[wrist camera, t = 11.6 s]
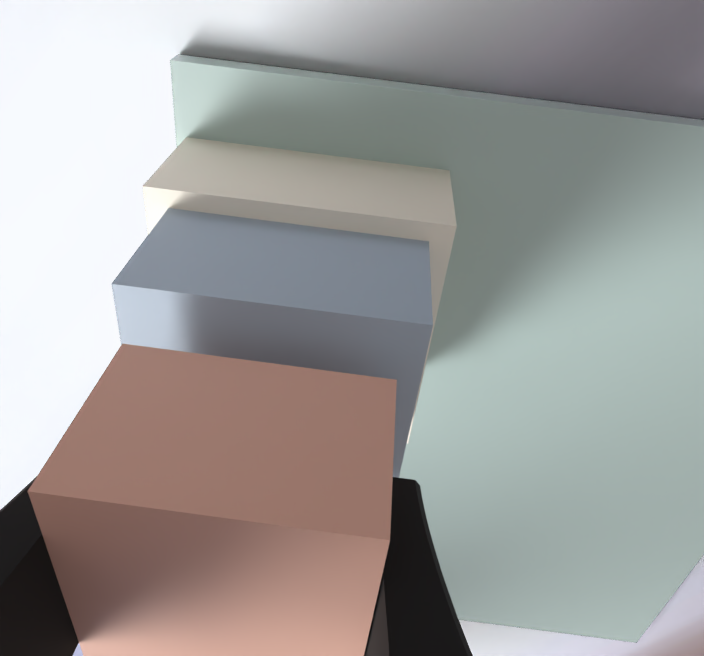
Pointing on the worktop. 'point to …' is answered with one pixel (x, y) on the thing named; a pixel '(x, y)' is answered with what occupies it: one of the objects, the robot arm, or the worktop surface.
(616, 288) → the baseplate
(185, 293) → the brick
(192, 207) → the brick
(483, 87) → the worktop surface
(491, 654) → the worktop surface
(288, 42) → the worktop surface
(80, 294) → the worktop surface
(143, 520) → the brick
